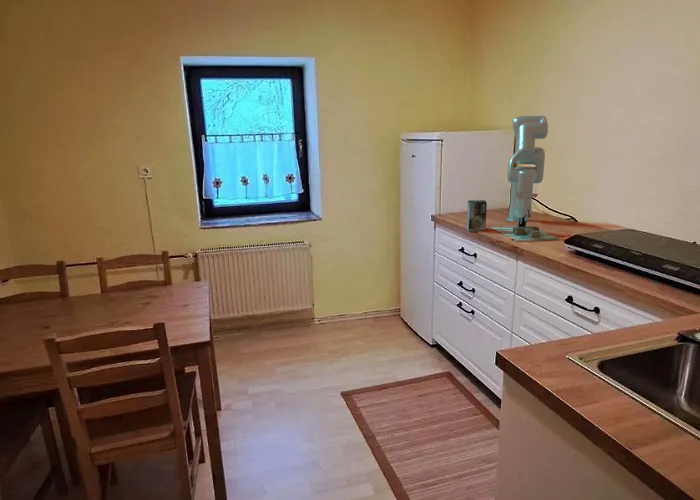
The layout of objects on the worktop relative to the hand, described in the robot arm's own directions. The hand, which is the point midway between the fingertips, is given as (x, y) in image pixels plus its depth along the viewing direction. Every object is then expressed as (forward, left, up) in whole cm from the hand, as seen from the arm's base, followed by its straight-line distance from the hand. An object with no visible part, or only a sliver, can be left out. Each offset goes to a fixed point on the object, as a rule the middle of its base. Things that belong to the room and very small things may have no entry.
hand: (521, 230), depth 234 cm
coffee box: (-12, -20, -2) cm, 23 cm away
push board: (+1, 0, -2) cm, 2 cm away
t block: (+8, 0, -1) cm, 8 cm away
